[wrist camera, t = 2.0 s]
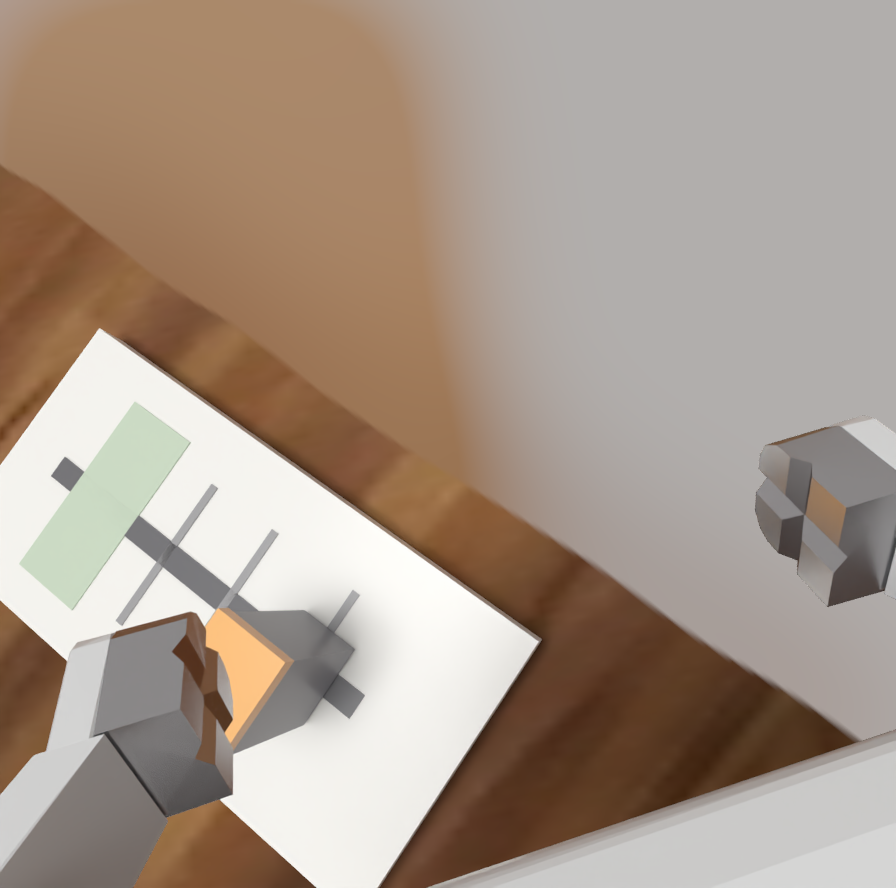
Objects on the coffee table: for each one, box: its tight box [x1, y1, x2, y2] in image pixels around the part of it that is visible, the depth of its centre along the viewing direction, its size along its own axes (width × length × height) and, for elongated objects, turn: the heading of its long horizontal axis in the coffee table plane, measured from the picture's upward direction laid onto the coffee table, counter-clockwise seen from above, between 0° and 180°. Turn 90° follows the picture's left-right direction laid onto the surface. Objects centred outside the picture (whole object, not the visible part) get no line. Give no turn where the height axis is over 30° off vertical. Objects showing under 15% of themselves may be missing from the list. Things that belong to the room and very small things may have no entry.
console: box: [0, 328, 542, 888], centre depth 37 cm, size 28×14×2 cm, turn 55°
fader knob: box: [205, 608, 355, 754], centre depth 30 cm, size 3×4×8 cm
